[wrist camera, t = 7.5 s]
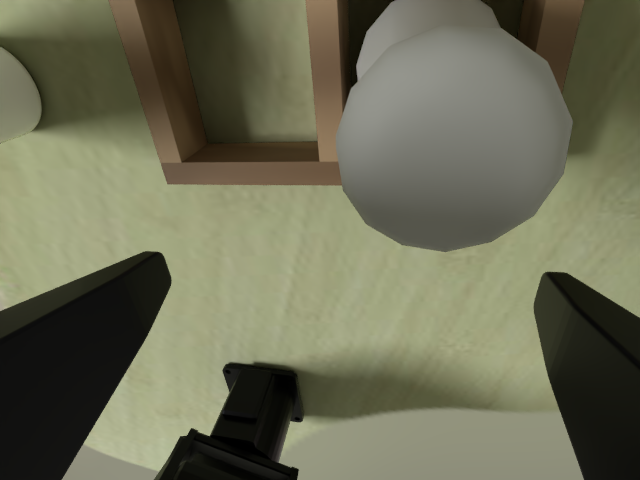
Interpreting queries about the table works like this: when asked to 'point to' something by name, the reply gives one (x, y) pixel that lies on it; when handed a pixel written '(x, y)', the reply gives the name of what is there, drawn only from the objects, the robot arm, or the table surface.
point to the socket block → (328, 86)
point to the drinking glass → (17, 99)
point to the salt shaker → (449, 127)
